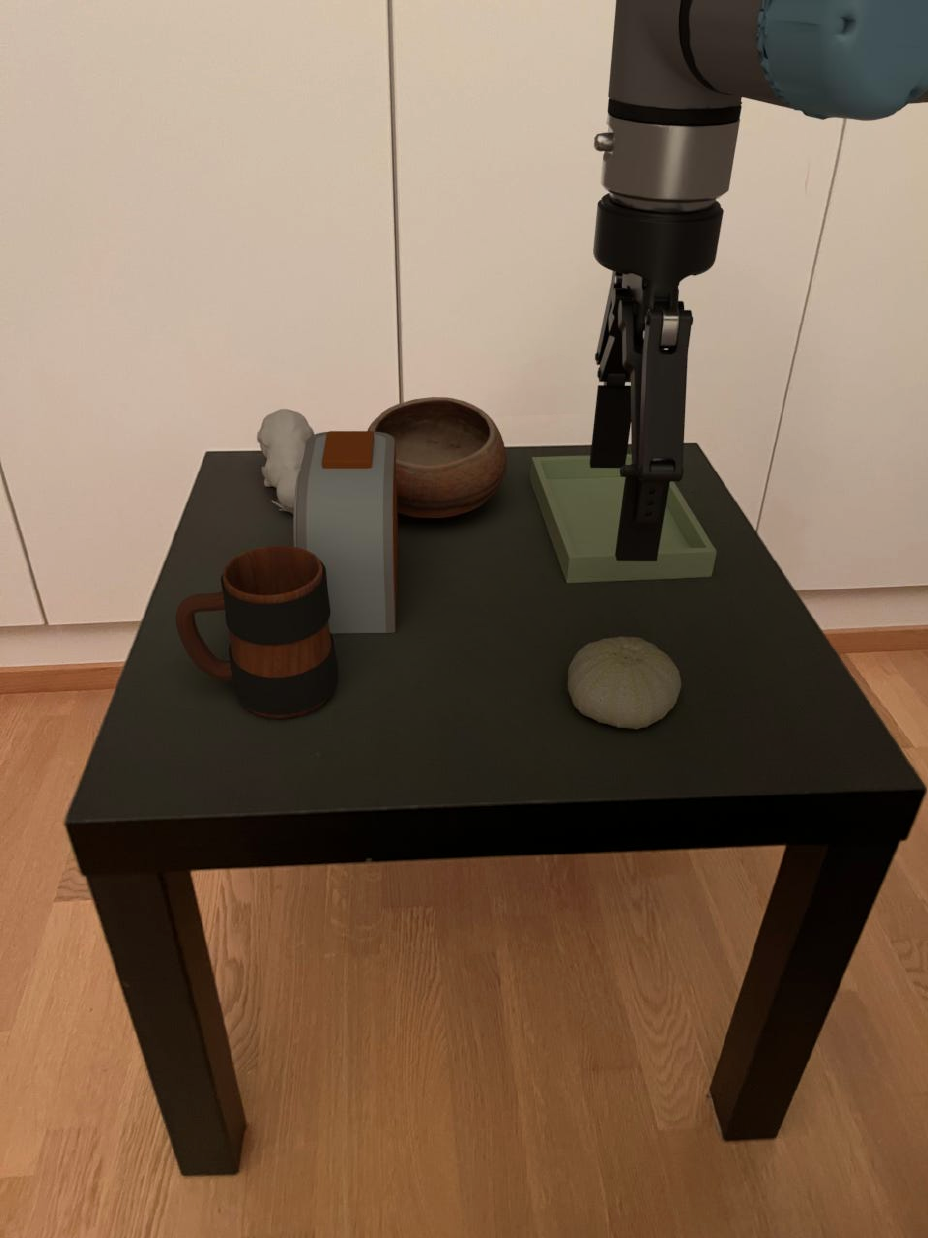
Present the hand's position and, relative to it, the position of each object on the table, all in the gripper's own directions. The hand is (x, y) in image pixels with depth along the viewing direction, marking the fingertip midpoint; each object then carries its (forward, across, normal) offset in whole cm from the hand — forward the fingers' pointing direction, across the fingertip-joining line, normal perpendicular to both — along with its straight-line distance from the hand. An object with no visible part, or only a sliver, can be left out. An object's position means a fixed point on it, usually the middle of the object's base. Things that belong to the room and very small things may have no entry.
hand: (620, 509), depth 69 cm
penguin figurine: (+17, -33, -29) cm, 48 cm away
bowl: (+17, -32, -14) cm, 39 cm away
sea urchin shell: (+18, +1, +2) cm, 18 cm away
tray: (+17, -28, +6) cm, 33 cm away
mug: (+17, 0, -27) cm, 32 cm away
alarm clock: (+17, -15, -21) cm, 32 cm away
